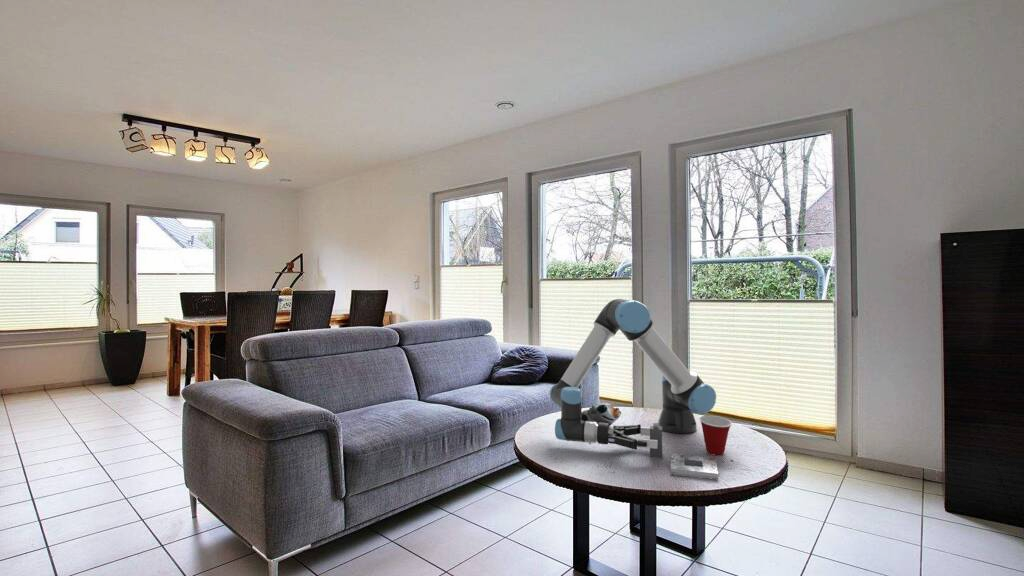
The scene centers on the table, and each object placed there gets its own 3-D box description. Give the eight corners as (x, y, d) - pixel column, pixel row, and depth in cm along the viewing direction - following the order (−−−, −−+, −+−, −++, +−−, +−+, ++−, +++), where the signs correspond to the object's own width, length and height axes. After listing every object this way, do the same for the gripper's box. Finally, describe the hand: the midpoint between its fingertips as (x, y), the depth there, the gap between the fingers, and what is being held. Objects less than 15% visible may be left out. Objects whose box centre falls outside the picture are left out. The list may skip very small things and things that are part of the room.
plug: (650, 453, 180) (650, 421, 180) (662, 454, 179) (662, 422, 179) (649, 457, 177) (649, 424, 176) (661, 458, 175) (661, 425, 175)
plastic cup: (717, 460, 173) (717, 425, 173) (692, 450, 183) (692, 417, 182) (739, 455, 178) (739, 421, 178) (714, 446, 188) (714, 414, 187)
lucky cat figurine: (607, 422, 219) (620, 396, 214) (614, 441, 208) (628, 414, 203) (575, 414, 216) (588, 388, 211) (581, 433, 205) (594, 406, 200)
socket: (671, 459, 174) (671, 452, 174) (715, 464, 170) (715, 456, 170) (670, 474, 161) (670, 466, 161) (718, 479, 156) (718, 471, 156)
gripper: (602, 432, 196) (659, 438, 189) (591, 454, 172) (656, 461, 165) (602, 413, 196) (659, 418, 189) (591, 432, 172) (656, 438, 165)
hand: (658, 438), depth 177 cm, fingers open, 13 cm apart
